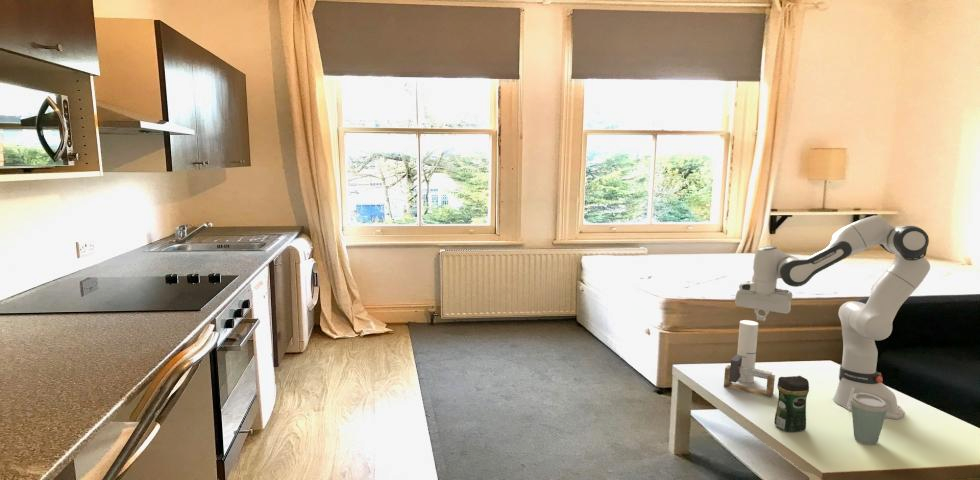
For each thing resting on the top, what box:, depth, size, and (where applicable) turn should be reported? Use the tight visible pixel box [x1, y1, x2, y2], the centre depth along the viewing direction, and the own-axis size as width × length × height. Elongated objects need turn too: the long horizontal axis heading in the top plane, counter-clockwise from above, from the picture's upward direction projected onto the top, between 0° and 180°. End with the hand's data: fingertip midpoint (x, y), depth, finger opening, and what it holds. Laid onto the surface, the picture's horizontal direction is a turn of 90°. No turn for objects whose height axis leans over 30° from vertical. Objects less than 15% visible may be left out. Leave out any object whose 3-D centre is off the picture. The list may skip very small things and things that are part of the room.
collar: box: [729, 354, 742, 383], centre depth 234 cm, size 2×8×9 cm, turn 144°
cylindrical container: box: [736, 319, 759, 383], centre depth 242 cm, size 7×7×25 cm
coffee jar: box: [774, 375, 810, 433], centre depth 199 cm, size 10×8×19 cm
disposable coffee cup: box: [850, 393, 888, 446], centre depth 190 cm, size 11×11×15 cm
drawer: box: [723, 364, 776, 398], centre depth 231 cm, size 18×4×8 cm, turn 54°
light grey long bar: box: [728, 363, 773, 380], centre depth 231 cm, size 16×3×3 cm, turn 54°
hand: (760, 320), depth 229 cm, fingers closed
